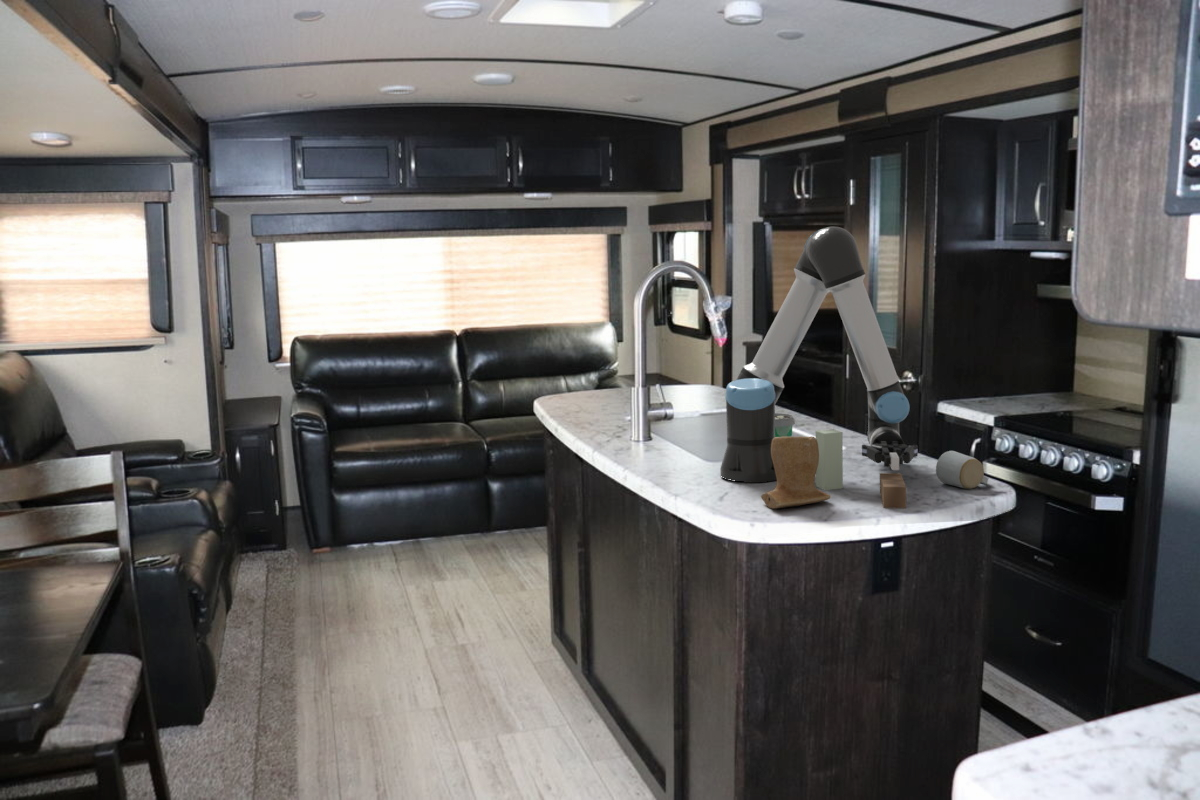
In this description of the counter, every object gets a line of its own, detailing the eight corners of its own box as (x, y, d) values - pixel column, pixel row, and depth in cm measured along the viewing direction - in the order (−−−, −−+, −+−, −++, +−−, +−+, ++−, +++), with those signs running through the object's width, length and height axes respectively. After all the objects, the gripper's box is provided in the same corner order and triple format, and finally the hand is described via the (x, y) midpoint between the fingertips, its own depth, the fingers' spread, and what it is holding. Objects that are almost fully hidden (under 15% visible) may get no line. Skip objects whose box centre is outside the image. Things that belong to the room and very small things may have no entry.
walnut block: (879, 492, 218) (883, 507, 204) (879, 472, 217) (883, 486, 204) (900, 493, 217) (906, 508, 203) (900, 473, 216) (906, 487, 203)
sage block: (824, 490, 222) (824, 433, 221) (815, 485, 227) (815, 430, 225) (842, 488, 223) (842, 432, 222) (833, 484, 228) (833, 429, 226)
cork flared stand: (804, 494, 219) (804, 428, 217) (838, 504, 208) (837, 435, 206) (747, 502, 213) (746, 435, 211) (778, 514, 202) (777, 442, 200)
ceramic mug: (961, 491, 216) (962, 457, 215) (934, 485, 223) (935, 451, 222) (997, 487, 220) (998, 453, 219) (970, 480, 227) (971, 447, 226)
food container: (795, 456, 263) (794, 419, 262) (771, 456, 264) (771, 419, 263) (795, 447, 275) (795, 412, 274) (773, 447, 276) (772, 412, 275)
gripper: (914, 460, 236) (926, 481, 213) (859, 459, 239) (864, 480, 216) (915, 429, 235) (926, 447, 212) (859, 429, 238) (864, 447, 215)
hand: (895, 464), depth 214 cm, fingers closed
